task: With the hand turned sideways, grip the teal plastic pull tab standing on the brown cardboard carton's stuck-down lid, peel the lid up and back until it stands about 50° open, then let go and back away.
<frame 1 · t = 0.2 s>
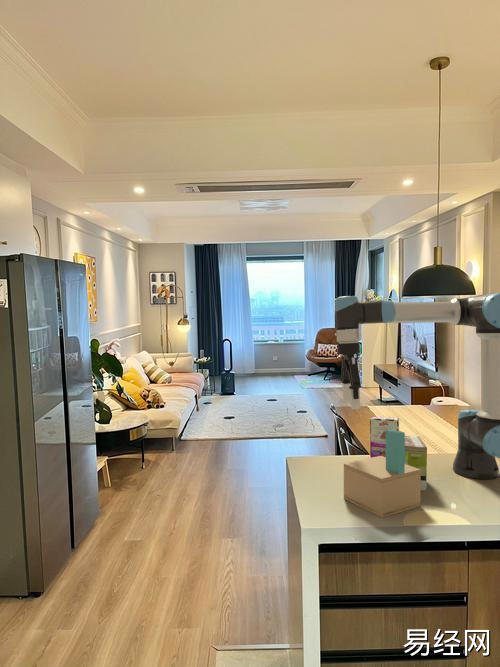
hand: (351, 405, 150), 27 cm above the counter, tool pointing down, fingers open, 13 cm apart
carton: (381, 502, 137), on the counter
tea box: (408, 483, 154), on the counter
candy bar box: (384, 458, 182), on the counter
carton lid: (381, 448, 137), point 17 cm above the counter, hinge at 0.0°
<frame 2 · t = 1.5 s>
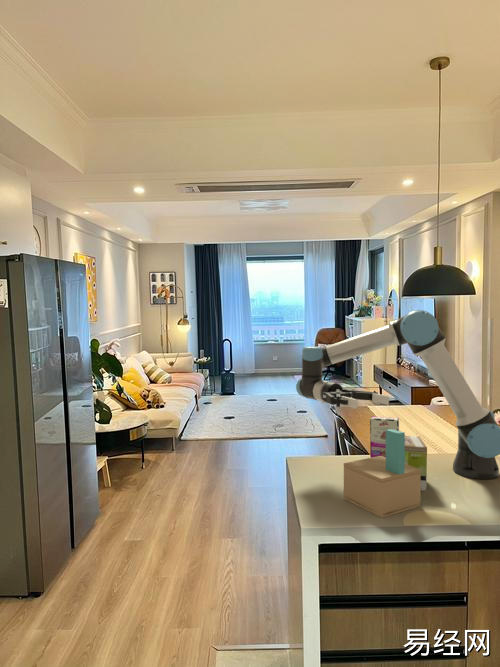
hand: (372, 402, 140), 30 cm above the counter, tool horizontal, fingers open, 13 cm apart
nothing on the counter moved.
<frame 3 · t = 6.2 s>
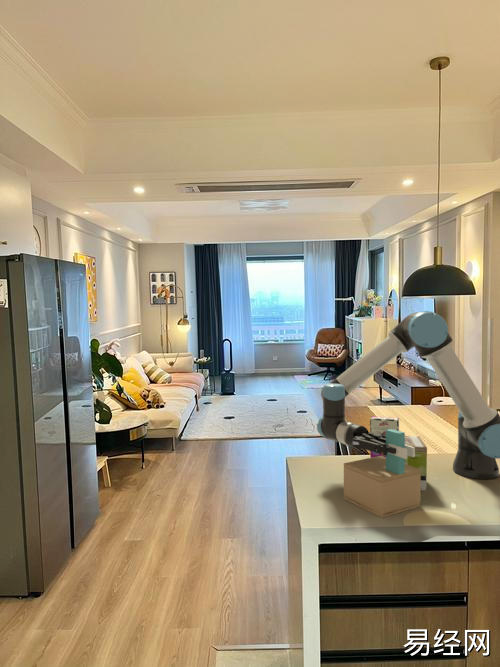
hand: (410, 453, 127), 18 cm above the counter, tool horizontal, fingers closed on carton lid, 2 cm apart
carton lid: (381, 448, 137), point 17 cm above the counter, hinge at 0.0°, touching gripper
everything else where it was.
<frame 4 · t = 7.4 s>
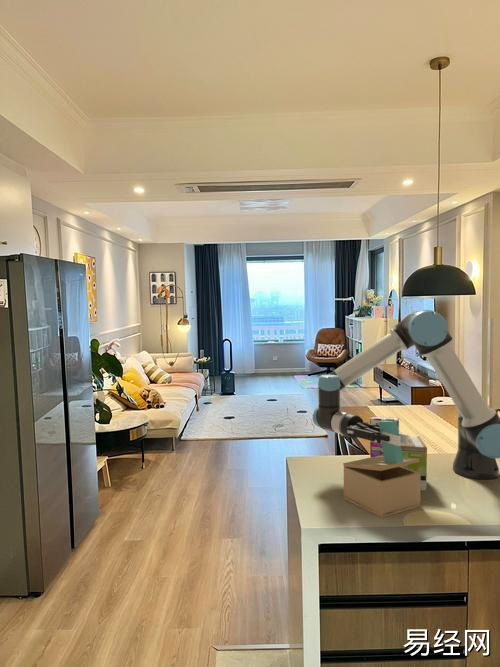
hand: (403, 440, 129), 21 cm above the counter, tool horizontal, fingers closed on carton lid, 2 cm apart
carton lid: (377, 442, 138), point 18 cm above the counter, hinge at 11.5°, touching gripper
everything else where it was.
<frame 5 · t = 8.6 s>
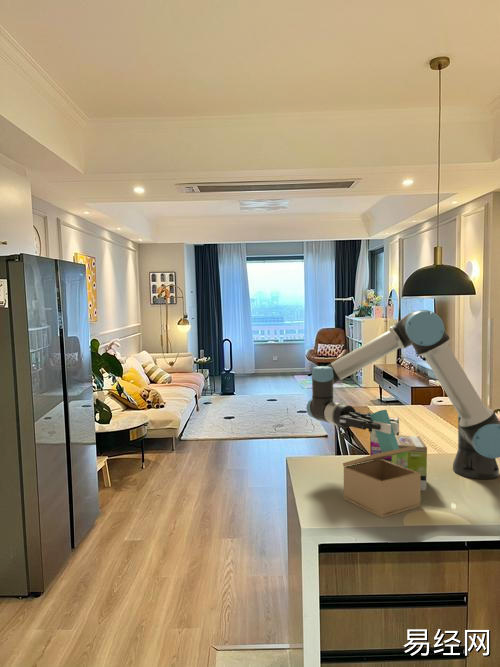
hand: (393, 428, 132), 24 cm above the counter, tool horizontal, fingers closed on carton lid, 2 cm apart
carton lid: (372, 436, 140), point 19 cm above the counter, hinge at 25.1°, touching gripper
everything else where it was.
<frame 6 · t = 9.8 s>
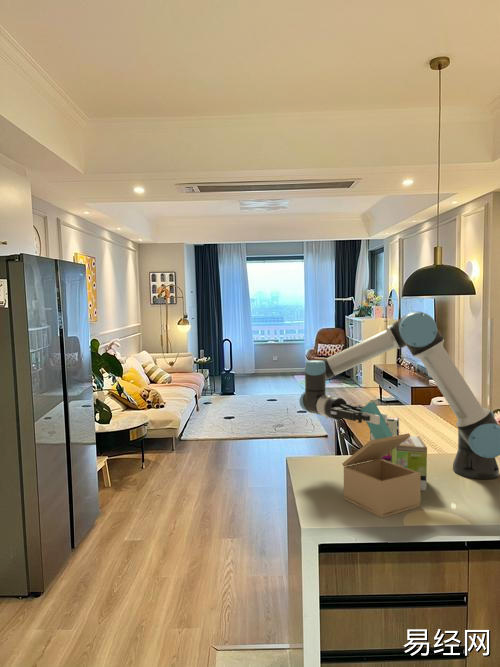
hand: (382, 419, 136), 26 cm above the counter, tool horizontal, fingers closed on carton lid, 2 cm apart
carton lid: (367, 432, 142), point 20 cm above the counter, hinge at 39.6°, touching gripper
everything else where it was.
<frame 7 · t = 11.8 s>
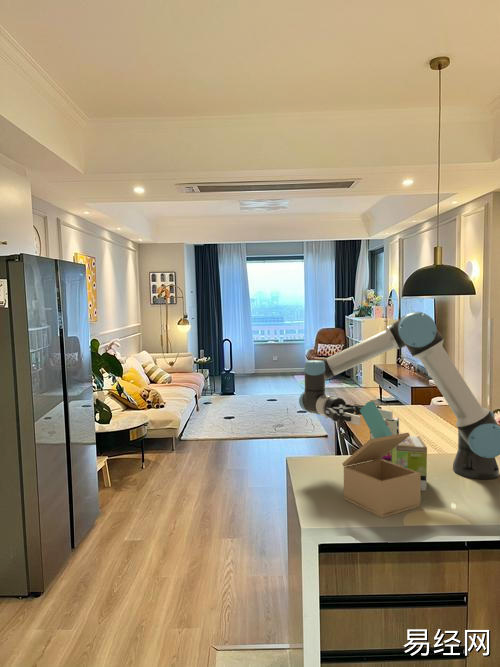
hand: (376, 418, 138), 26 cm above the counter, tool horizontal, fingers open, 13 cm apart
carton lid: (366, 432, 142), point 20 cm above the counter, hinge at 40.8°
everything else where it was.
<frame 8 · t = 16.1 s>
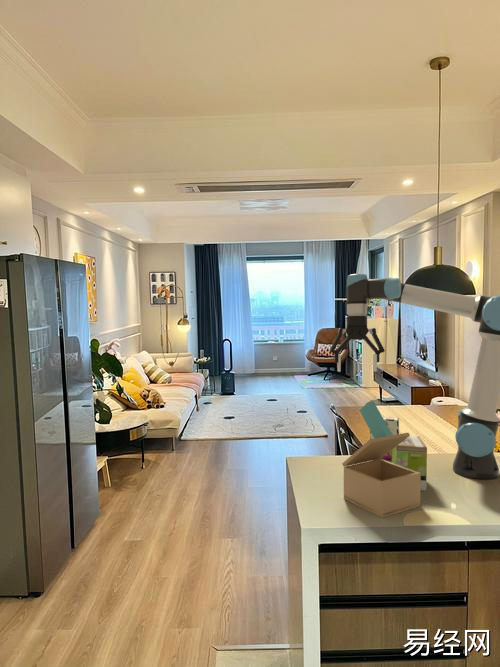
hand: (356, 371, 169), 37 cm above the counter, tool pointing down, fingers open, 13 cm apart
nothing on the counter moved.
at the end: carton lid at +41° (first picture: +0°); the gripper is holding nothing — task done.
